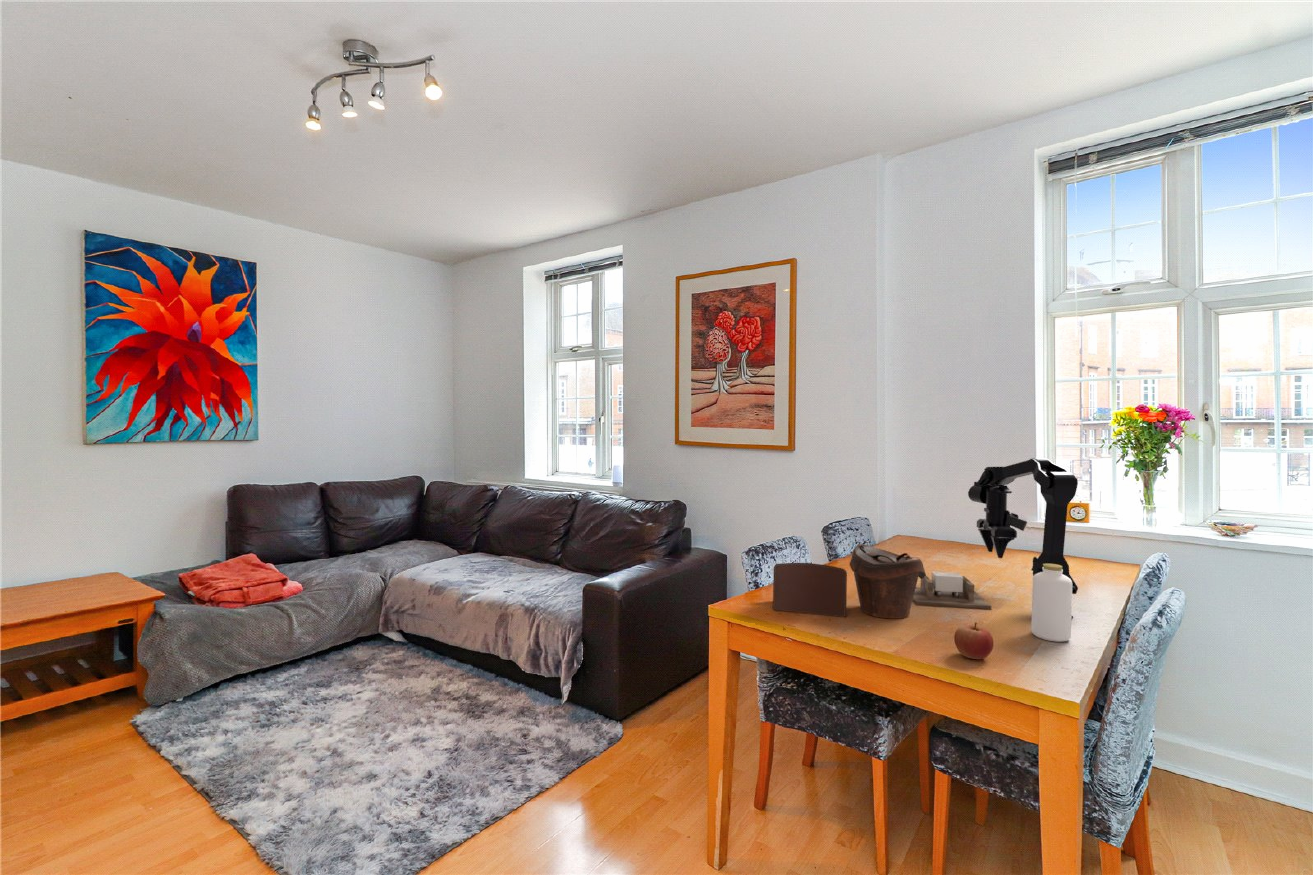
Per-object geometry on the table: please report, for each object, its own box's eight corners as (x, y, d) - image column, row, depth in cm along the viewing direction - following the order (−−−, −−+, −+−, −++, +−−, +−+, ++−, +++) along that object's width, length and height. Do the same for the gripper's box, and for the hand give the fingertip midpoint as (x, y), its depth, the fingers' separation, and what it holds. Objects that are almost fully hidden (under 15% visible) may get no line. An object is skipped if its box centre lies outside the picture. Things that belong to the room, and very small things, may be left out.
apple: (983, 651, 143) (984, 617, 142) (999, 665, 135) (1000, 629, 134) (948, 649, 143) (948, 616, 143) (961, 663, 135) (962, 627, 135)
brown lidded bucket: (932, 625, 160) (932, 556, 160) (852, 620, 164) (853, 553, 164) (917, 605, 178) (917, 544, 177) (845, 601, 182) (846, 541, 181)
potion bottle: (1033, 629, 158) (1035, 559, 157) (1072, 636, 153) (1074, 565, 152) (1028, 637, 151) (1030, 565, 151) (1068, 646, 146) (1071, 571, 146)
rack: (991, 609, 174) (991, 588, 174) (916, 604, 178) (917, 584, 178) (973, 593, 190) (974, 574, 190) (905, 589, 194) (906, 570, 193)
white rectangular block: (935, 590, 182) (935, 575, 182) (931, 586, 187) (931, 571, 187) (962, 592, 181) (963, 577, 180) (957, 587, 185) (958, 573, 185)
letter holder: (846, 618, 166) (847, 566, 166) (772, 611, 172) (773, 561, 171) (846, 607, 176) (846, 558, 175) (776, 601, 181) (776, 553, 181)
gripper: (1036, 511, 183) (1035, 563, 184) (1013, 503, 202) (1011, 550, 202) (995, 510, 186) (994, 561, 186) (976, 501, 204) (975, 548, 204)
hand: (995, 554), depth 195 cm, fingers open, 9 cm apart
